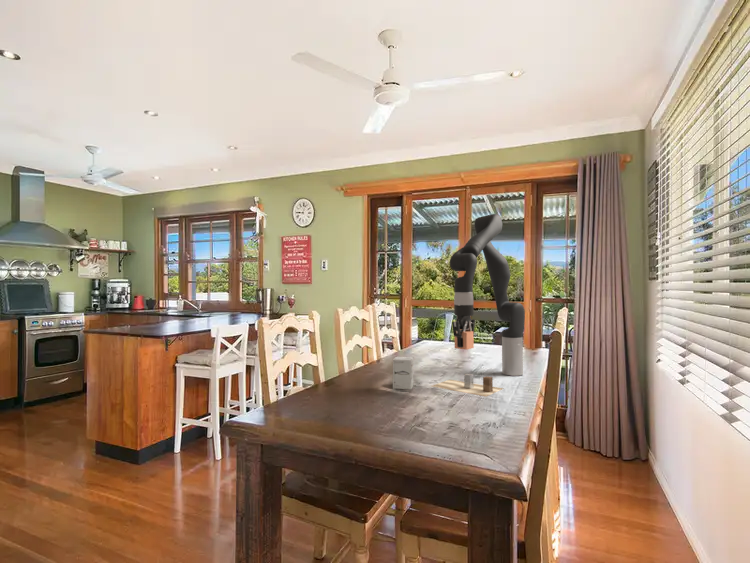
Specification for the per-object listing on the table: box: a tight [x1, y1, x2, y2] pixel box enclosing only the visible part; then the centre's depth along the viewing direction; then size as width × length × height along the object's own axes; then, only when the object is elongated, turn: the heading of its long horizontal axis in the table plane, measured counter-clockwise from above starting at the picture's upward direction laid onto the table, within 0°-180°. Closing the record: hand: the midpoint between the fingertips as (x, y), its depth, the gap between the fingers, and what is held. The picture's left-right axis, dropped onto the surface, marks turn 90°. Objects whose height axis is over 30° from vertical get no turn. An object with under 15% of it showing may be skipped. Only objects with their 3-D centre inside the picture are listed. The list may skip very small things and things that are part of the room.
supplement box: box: [392, 356, 414, 393], centre depth 165 cm, size 7×7×13 cm
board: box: [431, 379, 504, 398], centre depth 163 cm, size 15×24×1 cm, turn 49°
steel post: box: [463, 373, 474, 389], centre depth 163 cm, size 3×3×5 cm
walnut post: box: [482, 376, 494, 392], centre depth 157 cm, size 3×3×5 cm
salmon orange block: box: [454, 330, 475, 351], centre depth 164 cm, size 5×5×7 cm
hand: (464, 346), depth 164 cm, fingers closed on salmon orange block, 5 cm apart
